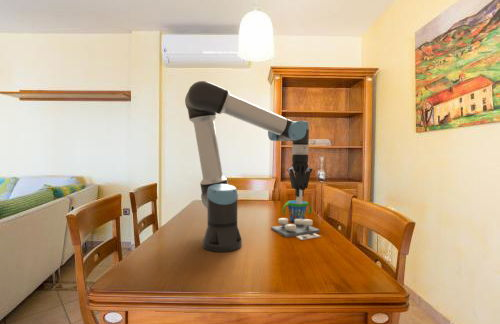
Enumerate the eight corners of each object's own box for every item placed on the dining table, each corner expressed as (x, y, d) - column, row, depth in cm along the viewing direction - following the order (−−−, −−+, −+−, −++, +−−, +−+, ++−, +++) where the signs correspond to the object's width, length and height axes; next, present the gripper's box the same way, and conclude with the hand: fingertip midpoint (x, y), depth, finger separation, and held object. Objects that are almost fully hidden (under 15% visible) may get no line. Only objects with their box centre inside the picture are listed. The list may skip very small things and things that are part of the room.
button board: (286, 237, 120) (286, 234, 120) (271, 229, 132) (271, 226, 132) (319, 232, 127) (319, 229, 127) (302, 225, 139) (302, 222, 139)
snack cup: (308, 218, 154) (308, 199, 153) (315, 223, 143) (315, 203, 143) (280, 218, 152) (280, 200, 151) (285, 224, 141) (285, 204, 141)
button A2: (281, 228, 127) (281, 220, 127) (276, 225, 132) (276, 218, 131) (290, 227, 129) (290, 219, 129) (284, 224, 134) (284, 217, 133)
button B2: (298, 228, 131) (298, 221, 131) (292, 226, 135) (292, 219, 135) (306, 227, 133) (306, 220, 133) (300, 225, 137) (300, 218, 137)
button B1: (306, 229, 125) (306, 222, 125) (300, 227, 130) (300, 219, 129) (314, 228, 127) (314, 221, 127) (308, 225, 132) (308, 218, 131)
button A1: (289, 234, 122) (289, 227, 122) (283, 232, 126) (283, 224, 126) (298, 233, 124) (298, 226, 123) (292, 230, 128) (292, 223, 128)
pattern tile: (301, 240, 117) (301, 238, 117) (295, 237, 120) (295, 235, 120) (320, 237, 121) (320, 235, 121) (314, 234, 124) (314, 232, 124)
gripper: (293, 154, 126) (292, 205, 128) (316, 154, 132) (315, 203, 133) (284, 153, 133) (283, 202, 134) (306, 153, 139) (305, 201, 140)
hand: (299, 203), depth 134 cm, fingers closed
